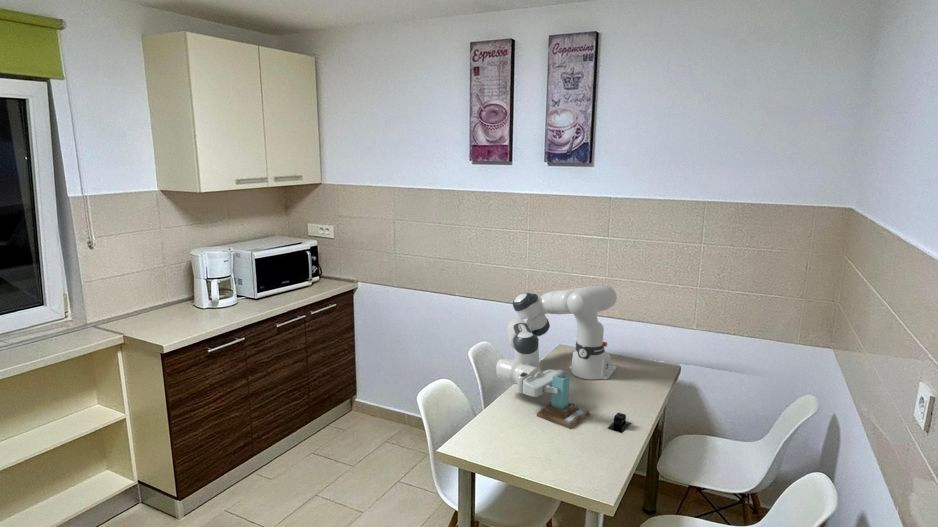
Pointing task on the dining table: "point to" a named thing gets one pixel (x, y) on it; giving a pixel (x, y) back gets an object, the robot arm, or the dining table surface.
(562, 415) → the jig
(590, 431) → the dining table surface
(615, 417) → the black block on base
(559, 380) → the teal bottle
